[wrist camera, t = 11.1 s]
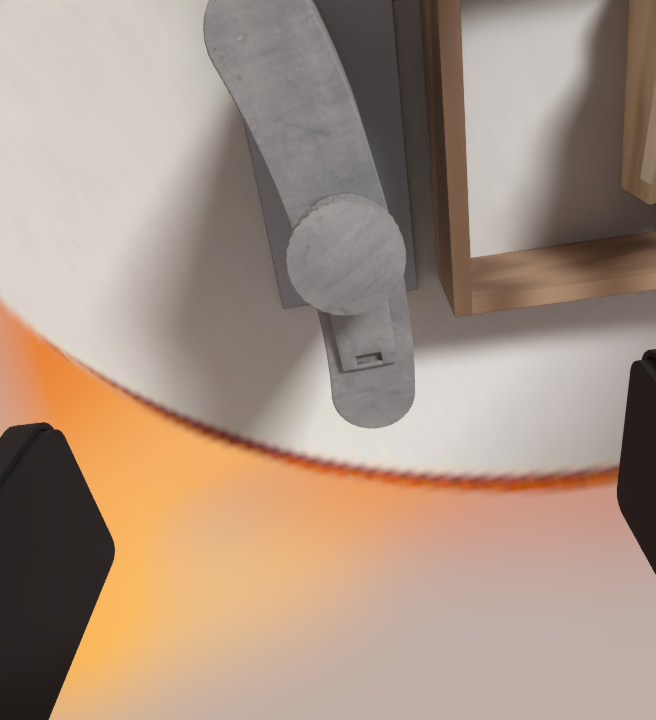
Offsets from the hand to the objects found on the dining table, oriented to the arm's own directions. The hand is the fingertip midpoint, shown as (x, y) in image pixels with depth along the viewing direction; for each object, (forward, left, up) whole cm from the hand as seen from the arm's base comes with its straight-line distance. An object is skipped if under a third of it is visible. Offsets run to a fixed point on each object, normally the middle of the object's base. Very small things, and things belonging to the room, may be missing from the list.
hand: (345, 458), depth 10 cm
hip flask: (0, 0, -29) cm, 29 cm away
